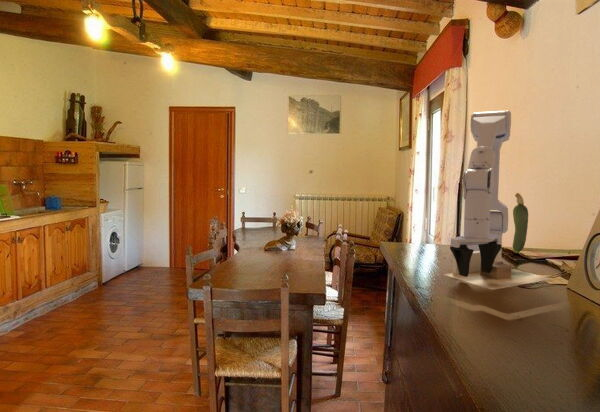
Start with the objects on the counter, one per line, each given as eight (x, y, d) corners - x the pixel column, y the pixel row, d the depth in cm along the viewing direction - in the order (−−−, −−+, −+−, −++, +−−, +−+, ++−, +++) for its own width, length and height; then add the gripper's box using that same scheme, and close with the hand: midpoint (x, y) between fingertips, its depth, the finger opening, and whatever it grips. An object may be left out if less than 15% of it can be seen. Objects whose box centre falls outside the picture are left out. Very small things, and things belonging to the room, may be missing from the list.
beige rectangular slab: (452, 273, 109) (453, 254, 108) (496, 266, 116) (496, 248, 115) (456, 274, 108) (456, 255, 107) (500, 267, 114) (500, 249, 114)
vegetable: (525, 253, 139) (528, 192, 137) (527, 255, 134) (530, 193, 133) (510, 252, 140) (512, 192, 138) (512, 254, 136) (514, 193, 134)
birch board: (443, 278, 108) (443, 274, 108) (500, 269, 117) (500, 265, 117) (491, 294, 94) (492, 289, 94) (552, 282, 103) (553, 278, 103)
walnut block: (480, 274, 107) (480, 262, 107) (494, 272, 109) (494, 261, 109) (496, 279, 103) (497, 267, 102) (511, 277, 105) (511, 265, 104)
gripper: (467, 222, 95) (465, 281, 96) (512, 218, 101) (509, 274, 102) (444, 218, 101) (443, 274, 102) (488, 215, 107) (486, 267, 109)
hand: (474, 273), depth 103 cm, fingers open, 7 cm apart
